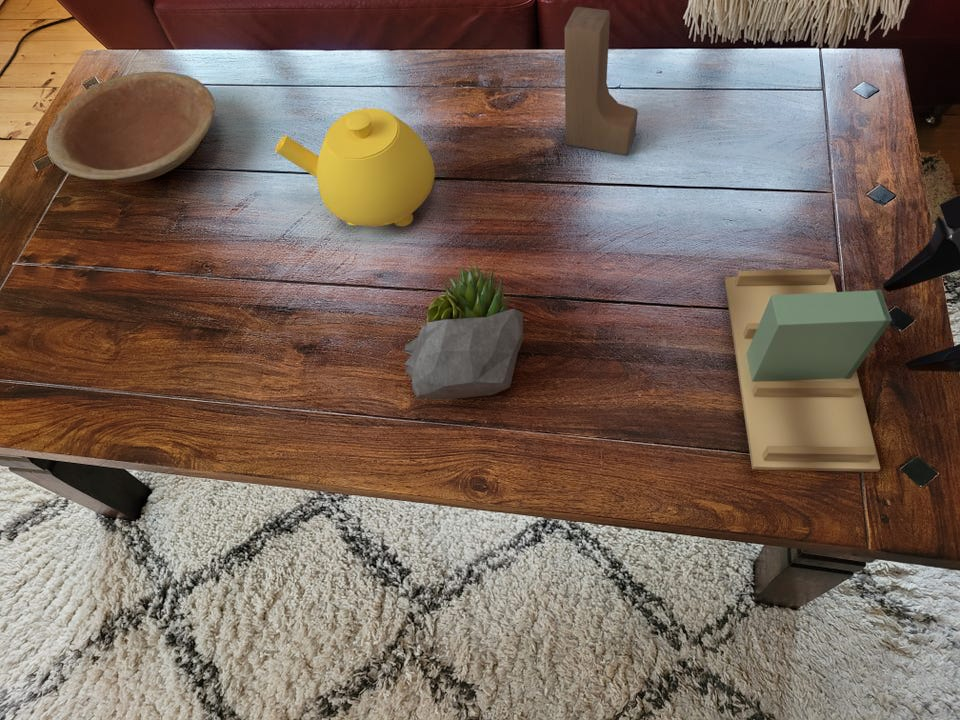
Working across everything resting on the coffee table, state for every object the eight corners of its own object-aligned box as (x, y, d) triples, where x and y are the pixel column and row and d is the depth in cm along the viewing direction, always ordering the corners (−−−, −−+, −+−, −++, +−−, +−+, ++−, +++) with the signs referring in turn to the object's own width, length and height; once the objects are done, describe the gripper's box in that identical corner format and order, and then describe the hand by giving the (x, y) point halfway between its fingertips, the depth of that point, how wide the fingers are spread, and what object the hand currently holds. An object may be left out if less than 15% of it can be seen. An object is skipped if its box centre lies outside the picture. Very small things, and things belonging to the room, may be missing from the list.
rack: (830, 279, 80) (838, 264, 78) (878, 472, 68) (889, 461, 66) (724, 280, 82) (729, 266, 79) (752, 469, 69) (758, 459, 67)
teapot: (286, 241, 93) (245, 165, 81) (314, 159, 101) (280, 79, 89) (429, 244, 90) (408, 165, 78) (447, 160, 97) (430, 76, 86)
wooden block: (636, 134, 96) (648, 13, 81) (627, 156, 94) (638, 36, 79) (574, 124, 98) (574, 4, 83) (564, 145, 96) (563, 27, 81)
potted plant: (387, 401, 74) (389, 272, 78) (483, 412, 82) (481, 294, 85) (447, 378, 65) (445, 233, 69) (550, 392, 72) (543, 260, 76)
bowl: (213, 211, 97) (186, 169, 91) (58, 221, 100) (21, 181, 93) (245, 101, 110) (224, 56, 103) (106, 112, 112) (76, 70, 105)
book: (841, 349, 74) (881, 289, 65) (850, 378, 73) (892, 320, 63) (745, 353, 75) (770, 294, 66) (751, 382, 74) (778, 325, 64)
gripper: (1019, 118, 56) (834, 215, 67) (1109, 303, 47) (876, 381, 58) (1067, 185, 62) (888, 264, 73) (1155, 363, 52) (935, 423, 63)
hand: (895, 326), depth 67 cm, fingers open, 9 cm apart
